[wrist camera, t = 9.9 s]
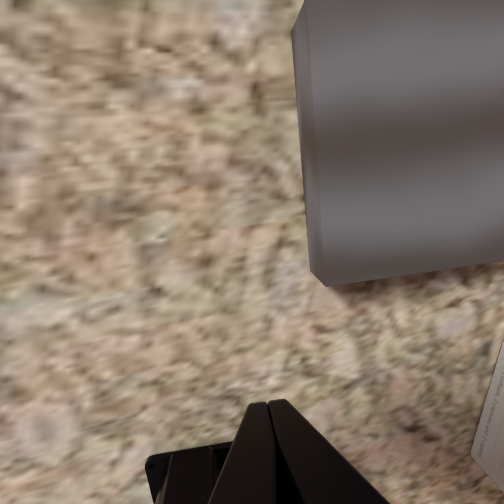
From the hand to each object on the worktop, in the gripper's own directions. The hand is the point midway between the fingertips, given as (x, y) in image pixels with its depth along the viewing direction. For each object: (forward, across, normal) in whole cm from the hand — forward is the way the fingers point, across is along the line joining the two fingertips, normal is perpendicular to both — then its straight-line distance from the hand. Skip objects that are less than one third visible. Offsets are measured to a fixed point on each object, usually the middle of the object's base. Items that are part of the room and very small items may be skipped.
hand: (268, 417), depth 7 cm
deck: (+12, -10, -6) cm, 17 cm away
